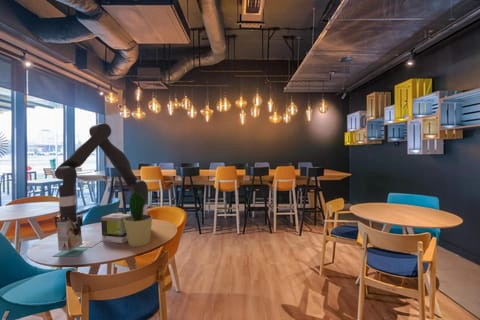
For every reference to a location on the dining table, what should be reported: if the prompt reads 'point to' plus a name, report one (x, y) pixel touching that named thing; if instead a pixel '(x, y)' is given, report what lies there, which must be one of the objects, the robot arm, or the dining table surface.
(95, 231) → the dining table surface
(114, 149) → the robot arm
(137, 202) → the potted cactus
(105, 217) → the tea box
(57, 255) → the mat
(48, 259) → the dining table surface
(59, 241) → the coffee box
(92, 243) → the plate
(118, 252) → the dining table surface
